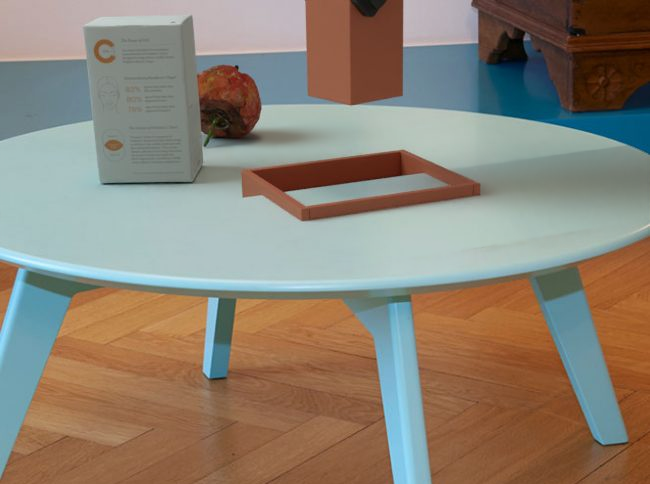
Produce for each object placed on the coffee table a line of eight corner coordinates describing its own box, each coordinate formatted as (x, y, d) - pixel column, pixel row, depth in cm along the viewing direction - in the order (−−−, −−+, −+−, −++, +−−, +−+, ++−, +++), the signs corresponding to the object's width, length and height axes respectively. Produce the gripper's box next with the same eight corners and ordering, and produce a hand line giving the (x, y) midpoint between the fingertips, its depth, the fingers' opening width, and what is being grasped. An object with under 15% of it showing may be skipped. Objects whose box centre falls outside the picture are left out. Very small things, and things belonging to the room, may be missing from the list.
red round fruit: (251, 170, 107) (291, 91, 111) (212, 117, 102) (255, 37, 106) (191, 169, 111) (231, 93, 115) (150, 119, 106) (195, 41, 110)
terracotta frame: (403, 180, 94) (403, 149, 93) (479, 217, 84) (480, 183, 83) (242, 202, 89) (240, 169, 88) (302, 245, 78) (301, 209, 78)
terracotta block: (358, 87, 86) (357, -80, 82) (403, 96, 83) (404, -79, 78) (307, 96, 83) (302, -77, 79) (350, 106, 80) (348, -75, 75)
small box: (204, 164, 100) (194, 13, 95) (193, 183, 94) (182, 23, 90) (113, 165, 101) (99, 14, 96) (97, 184, 95) (81, 24, 90)
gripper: (367, -217, 84) (242, -37, 82) (510, -230, 74) (372, -25, 72) (418, -141, 90) (302, 30, 87) (559, -144, 79) (431, 51, 77)
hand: (334, 4), depth 80 cm, fingers closed on terracotta block, 5 cm apart
